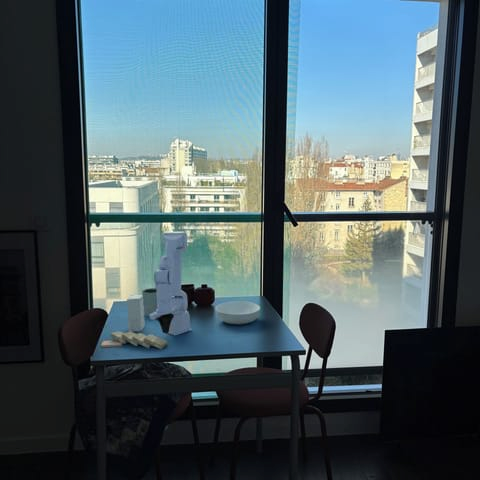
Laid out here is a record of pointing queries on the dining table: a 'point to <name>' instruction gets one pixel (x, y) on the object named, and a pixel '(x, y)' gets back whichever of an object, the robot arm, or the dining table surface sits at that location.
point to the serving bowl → (237, 312)
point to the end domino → (111, 343)
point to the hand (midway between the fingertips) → (165, 332)
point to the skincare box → (135, 312)
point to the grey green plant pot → (149, 301)
